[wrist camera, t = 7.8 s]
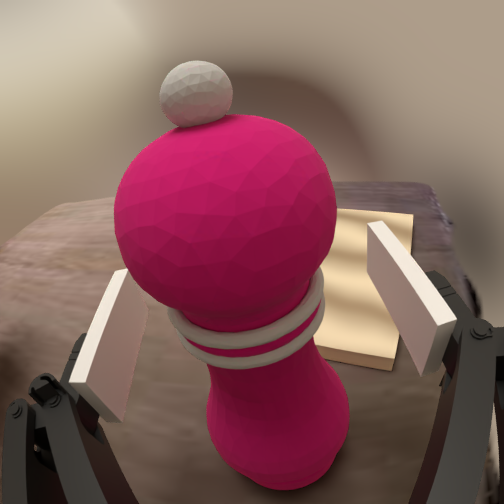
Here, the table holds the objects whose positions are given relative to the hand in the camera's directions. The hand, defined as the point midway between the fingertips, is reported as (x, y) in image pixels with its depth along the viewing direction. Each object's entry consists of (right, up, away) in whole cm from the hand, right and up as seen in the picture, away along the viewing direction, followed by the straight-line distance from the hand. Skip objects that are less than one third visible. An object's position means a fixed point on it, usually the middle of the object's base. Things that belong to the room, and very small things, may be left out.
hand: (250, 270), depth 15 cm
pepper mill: (+2, -11, +3) cm, 12 cm away
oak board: (+9, -1, +16) cm, 18 cm away
